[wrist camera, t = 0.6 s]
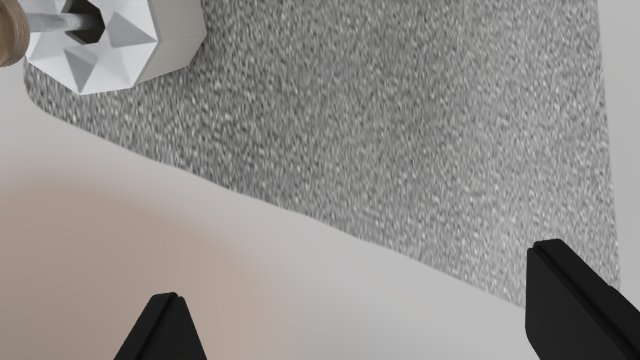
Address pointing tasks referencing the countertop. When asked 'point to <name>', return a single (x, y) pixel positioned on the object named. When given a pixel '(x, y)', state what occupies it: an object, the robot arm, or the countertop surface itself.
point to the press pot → (117, 42)
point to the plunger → (35, 28)
